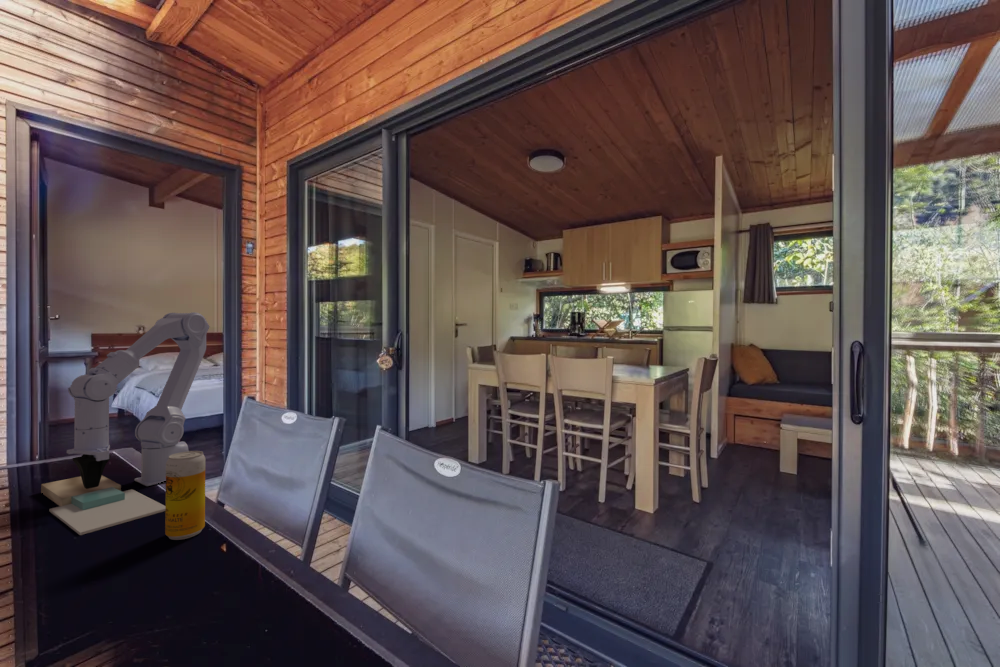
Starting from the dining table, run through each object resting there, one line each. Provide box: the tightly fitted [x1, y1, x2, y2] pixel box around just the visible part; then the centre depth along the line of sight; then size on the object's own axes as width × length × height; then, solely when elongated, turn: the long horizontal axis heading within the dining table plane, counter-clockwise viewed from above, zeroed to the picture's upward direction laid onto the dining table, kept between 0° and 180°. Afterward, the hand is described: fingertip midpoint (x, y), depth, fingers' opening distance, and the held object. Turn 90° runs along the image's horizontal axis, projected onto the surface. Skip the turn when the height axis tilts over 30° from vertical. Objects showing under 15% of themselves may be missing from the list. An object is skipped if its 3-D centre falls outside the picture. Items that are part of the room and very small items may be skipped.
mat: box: [48, 488, 166, 536], centre depth 92 cm, size 14×20×1 cm
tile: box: [71, 487, 125, 510], centre depth 96 cm, size 7×7×2 cm
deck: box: [40, 475, 122, 507], centre depth 102 cm, size 10×16×2 cm, turn 58°
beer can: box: [164, 450, 206, 541], centre depth 82 cm, size 6×6×15 cm
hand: (91, 487), depth 98 cm, fingers closed
